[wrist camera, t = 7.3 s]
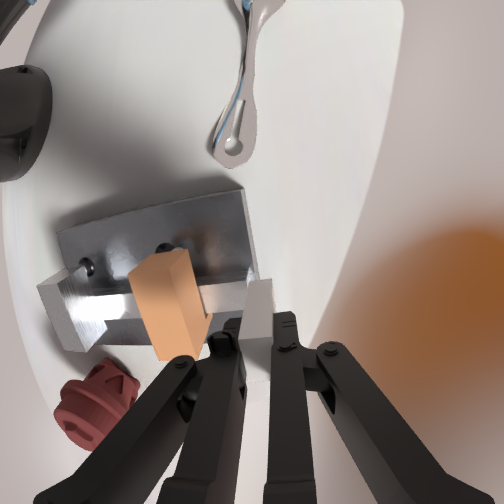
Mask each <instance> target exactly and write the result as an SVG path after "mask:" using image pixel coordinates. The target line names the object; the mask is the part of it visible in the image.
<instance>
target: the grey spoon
mask: <svg viewBox="0 0 504 504" xmlns="http://www.w3.org/2000/svg"><path fill="white" fill-rule="evenodd" d="M234 1H235V4H236V6H237V8H238V9H239V11H240V13H241V15H242V16H243V19H244V21H245V25H246V32H247V38H246V48H245V53H244V57H243V61H242V65H241V68H240V71H239V77H238V82H237V86H236V89H235V91H234V93H233V95H232V97H231V99H230V100H229V102H228V104H227V105H226V107H225V109H224V111H223V113H222V116H221V118H220V120H219V123H218V126H217V128H216V131H215V135H214V139H213V145H212V150H213V155H214V157H215V159H216V160H217V161H218V162H219V163H220V164H221V165H222V166H224V167H225V168H228V169H233V168H236V167H239V166H241V165H243V164H245V163H246V162H247V161H248V160H249V158H250V157H251V155H252V153H253V150H254V147H255V142H256V135H257V110H256V107H255V102H254V96H253V82H254V76H255V49H256V42H257V38H258V35H259V32H260V30H261V28H262V26H263V24H264V23H265V22H266V21H267V19H268V18H269V17H270V16H272V15H273V14H274V13H275V12H276V11H277V10H278V9H279V8H280V7H281V6H282V5H283V4H284V3H285V1H286V0H234ZM238 100H243V101H245V106H244V111H243V117H242V122H241V127H240V133H239V138H238V140H239V141H240V142H241V143H242V145H243V149H242V151H241V153H240V154H239V155H237V156H230V155H228V154H227V153H226V152H225V144H226V143H227V142H228V141H229V140H230V137H231V132H232V127H233V121H234V116H235V111H236V106H237V101H238Z"/></svg>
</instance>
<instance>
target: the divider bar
mask: <svg viewBox="0 0 504 504" xmlns="http://www.w3.org/2000/svg"><path fill="white" fill-rule="evenodd" d="M90 272H91V266H90V264H89V263H88V262H83V263H81V264H79V265H78V266H76V267H73V268H67V269H62V270H61V271H59V272H58V273H56V274H54V275H53V276H51V277H50V278H48V279H46V280H45V281H43V282H42V283H40V284H39V285H37V289H38V292H39V294H40V297H41V300H42V302H43V305H44V307H45V309H46V312H47V314H48V316H49V319H50V321H51V323H52V325H53V328H54V330H55V332H56V334H57V336H58V338H59V340H60V342H61V344H62V346H63V348H64V350H65V351H75V352H88V350H89V349H90V348H91V347H92V346H93V345H94V343H95V342H96V341H97V340H98V339H99V338H100V336H101V335H102V334H103V333H104V332H105V331H106V330H107V327H106V324H105V322H104V320H107V319H133V318H142V317H141V314H140V311H139V308H138V305H137V303H136V300H135V297H134V294H133V291H132V288H131V285H125V286H116V287H107V288H97V289H92V288H91V285H90V282H89V279H88V276H87V274H88V273H90ZM195 280H196V284H197V288H198V292H199V296H200V300H201V303H202V307H203V311H204V314H206V313H217V312H227V311H237V310H244V305H245V300H246V294H247V289H248V284H249V281H250V277H249V272H248V271H241V272H233V273H226V274H218V275H210V276H202V277H195Z"/></svg>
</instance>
